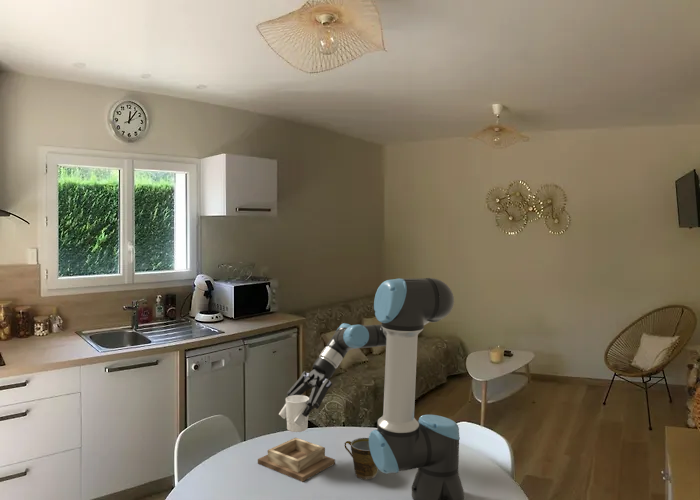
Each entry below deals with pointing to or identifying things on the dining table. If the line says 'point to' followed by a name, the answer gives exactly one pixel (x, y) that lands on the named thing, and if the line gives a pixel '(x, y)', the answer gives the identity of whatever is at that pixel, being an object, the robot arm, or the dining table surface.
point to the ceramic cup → (362, 458)
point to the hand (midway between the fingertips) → (288, 420)
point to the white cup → (295, 412)
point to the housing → (297, 459)
